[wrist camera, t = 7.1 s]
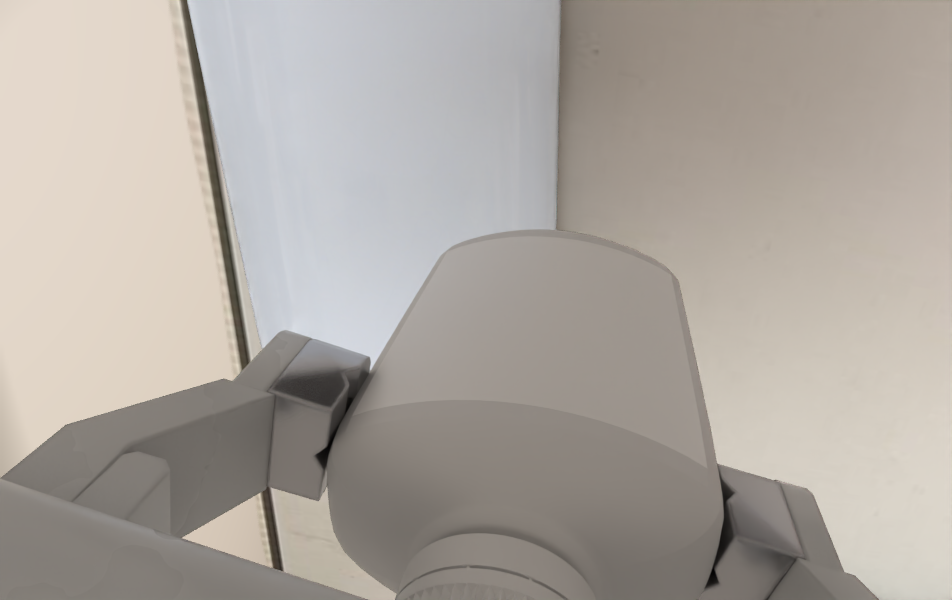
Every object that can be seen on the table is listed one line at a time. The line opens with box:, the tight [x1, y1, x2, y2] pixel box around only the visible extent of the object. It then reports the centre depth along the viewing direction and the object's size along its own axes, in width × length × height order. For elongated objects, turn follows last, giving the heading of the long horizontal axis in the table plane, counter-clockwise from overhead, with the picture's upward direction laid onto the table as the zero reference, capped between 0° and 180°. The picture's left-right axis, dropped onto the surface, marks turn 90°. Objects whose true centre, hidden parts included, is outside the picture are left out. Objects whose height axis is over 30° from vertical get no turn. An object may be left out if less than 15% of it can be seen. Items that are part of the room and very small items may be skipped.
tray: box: [187, 0, 561, 372], centre depth 32 cm, size 17×31×4 cm, turn 2°
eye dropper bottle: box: [327, 229, 724, 600], centre depth 10 cm, size 4×6×12 cm
